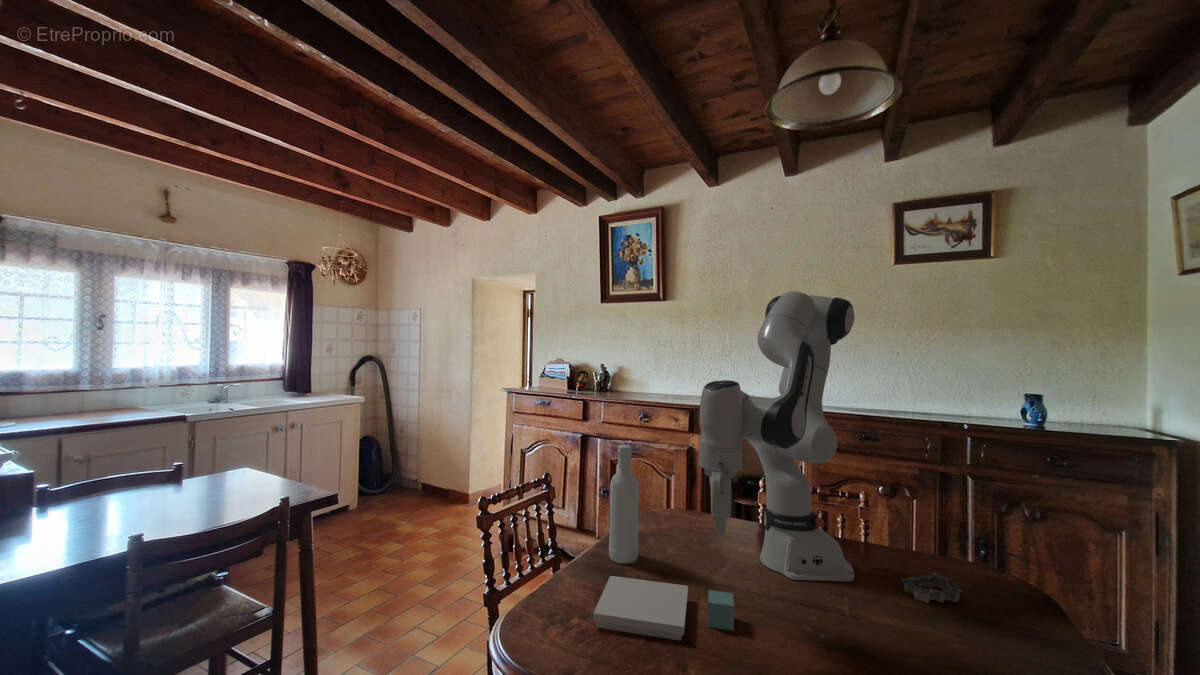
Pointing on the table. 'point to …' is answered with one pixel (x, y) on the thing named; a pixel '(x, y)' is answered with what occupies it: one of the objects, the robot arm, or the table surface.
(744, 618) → the table surface
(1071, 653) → the table surface
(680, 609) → the cream wooden base
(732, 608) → the teal block
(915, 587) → the grey jagged ring
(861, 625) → the table surface
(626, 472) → the bottle
